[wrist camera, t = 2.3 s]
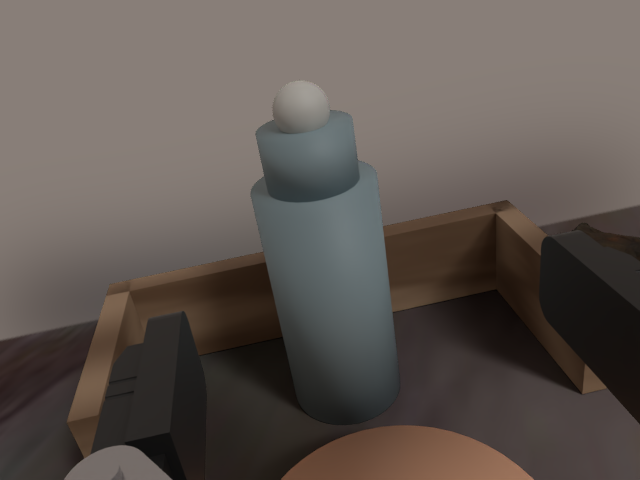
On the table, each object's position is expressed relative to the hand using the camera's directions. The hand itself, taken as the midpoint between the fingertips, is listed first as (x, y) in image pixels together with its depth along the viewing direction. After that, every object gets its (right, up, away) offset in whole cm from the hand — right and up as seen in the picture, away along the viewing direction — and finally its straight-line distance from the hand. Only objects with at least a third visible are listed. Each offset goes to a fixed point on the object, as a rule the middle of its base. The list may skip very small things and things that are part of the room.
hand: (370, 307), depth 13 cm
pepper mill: (0, -6, +16) cm, 17 cm away
